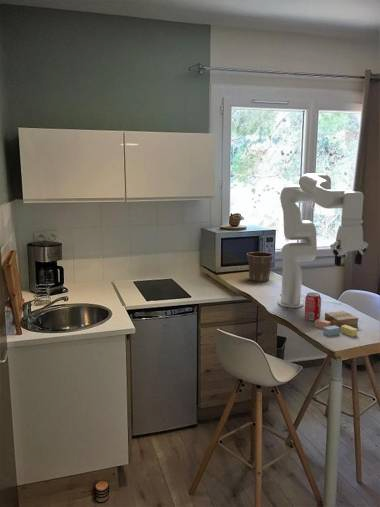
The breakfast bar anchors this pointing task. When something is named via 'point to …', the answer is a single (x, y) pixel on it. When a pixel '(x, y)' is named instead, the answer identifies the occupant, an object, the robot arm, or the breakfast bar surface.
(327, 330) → the slate brick
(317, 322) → the terracotta brick
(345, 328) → the mustard brick
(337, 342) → the breakfast bar surface
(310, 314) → the soda can
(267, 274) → the plant pot
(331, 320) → the tan flat block
